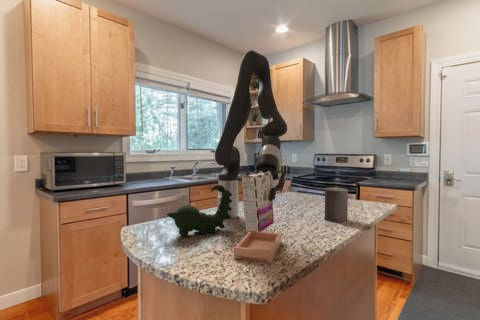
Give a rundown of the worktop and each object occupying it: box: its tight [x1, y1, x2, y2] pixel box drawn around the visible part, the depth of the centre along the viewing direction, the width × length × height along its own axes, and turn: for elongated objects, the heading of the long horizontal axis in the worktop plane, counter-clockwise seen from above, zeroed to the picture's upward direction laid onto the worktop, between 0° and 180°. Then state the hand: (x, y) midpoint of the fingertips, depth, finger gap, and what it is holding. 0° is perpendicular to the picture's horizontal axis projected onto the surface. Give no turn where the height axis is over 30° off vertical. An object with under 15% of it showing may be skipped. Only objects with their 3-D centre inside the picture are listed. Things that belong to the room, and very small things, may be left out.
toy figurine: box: [166, 184, 232, 238], centre depth 99 cm, size 9×19×25 cm
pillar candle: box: [324, 187, 349, 223], centre depth 117 cm, size 10×10×15 cm
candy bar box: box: [241, 173, 275, 232], centre depth 82 cm, size 11×5×16 cm, turn 150°
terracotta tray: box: [233, 231, 283, 263], centre depth 82 cm, size 11×17×3 cm, turn 162°
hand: (261, 199), depth 83 cm, fingers closed on candy bar box, 5 cm apart
